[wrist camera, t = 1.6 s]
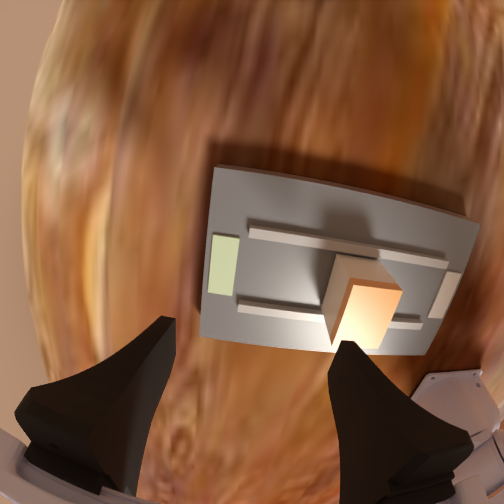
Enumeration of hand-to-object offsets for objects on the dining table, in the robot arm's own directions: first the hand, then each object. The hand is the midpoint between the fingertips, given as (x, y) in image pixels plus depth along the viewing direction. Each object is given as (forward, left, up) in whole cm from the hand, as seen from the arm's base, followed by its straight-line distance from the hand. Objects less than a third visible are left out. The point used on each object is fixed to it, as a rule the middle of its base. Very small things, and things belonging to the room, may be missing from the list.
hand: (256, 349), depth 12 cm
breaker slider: (-6, 0, -7) cm, 9 cm away
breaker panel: (-6, 0, -9) cm, 11 cm away
